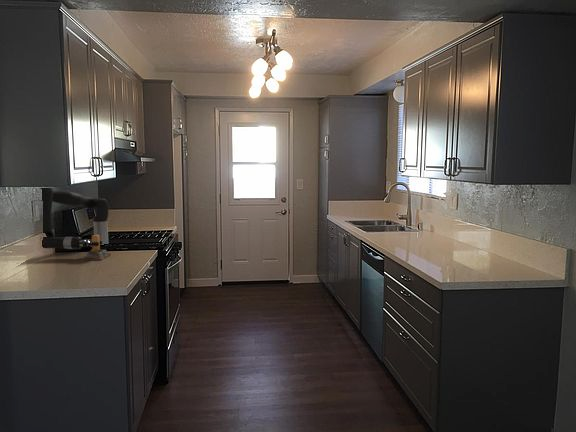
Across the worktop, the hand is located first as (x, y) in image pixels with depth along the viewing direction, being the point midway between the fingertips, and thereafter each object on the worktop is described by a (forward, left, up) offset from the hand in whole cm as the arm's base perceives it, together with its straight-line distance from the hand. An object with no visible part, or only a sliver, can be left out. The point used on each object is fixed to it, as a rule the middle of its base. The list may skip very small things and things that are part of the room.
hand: (100, 243), depth 294 cm
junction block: (0, -3, -9) cm, 9 cm away
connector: (0, -3, -7) cm, 8 cm away
